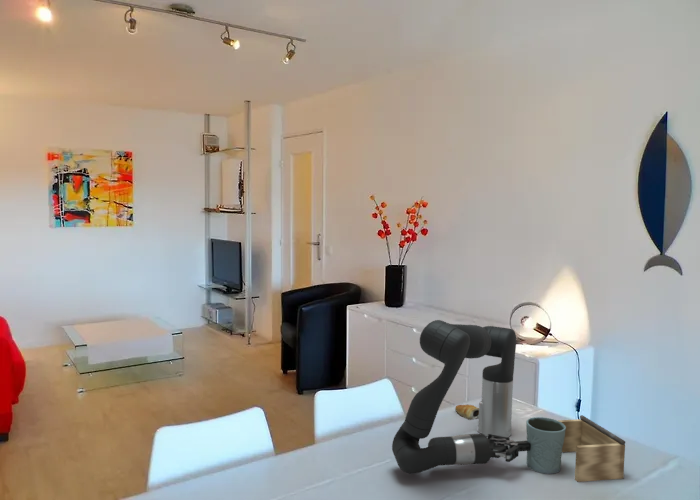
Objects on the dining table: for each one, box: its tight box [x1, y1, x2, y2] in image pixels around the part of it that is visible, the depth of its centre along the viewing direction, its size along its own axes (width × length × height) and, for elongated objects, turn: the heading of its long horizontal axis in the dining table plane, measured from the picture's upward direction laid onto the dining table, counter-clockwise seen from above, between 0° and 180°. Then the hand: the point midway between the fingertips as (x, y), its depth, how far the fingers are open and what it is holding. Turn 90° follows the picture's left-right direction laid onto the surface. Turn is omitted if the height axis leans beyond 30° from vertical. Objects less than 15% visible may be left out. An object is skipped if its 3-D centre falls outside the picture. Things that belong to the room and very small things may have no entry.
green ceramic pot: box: [525, 416, 566, 475], centre depth 153 cm, size 10×10×12 cm
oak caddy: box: [556, 414, 626, 483], centre depth 155 cm, size 13×18×10 cm
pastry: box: [454, 404, 479, 421], centre depth 192 cm, size 9×7×4 cm
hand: (529, 445), depth 152 cm, fingers closed
